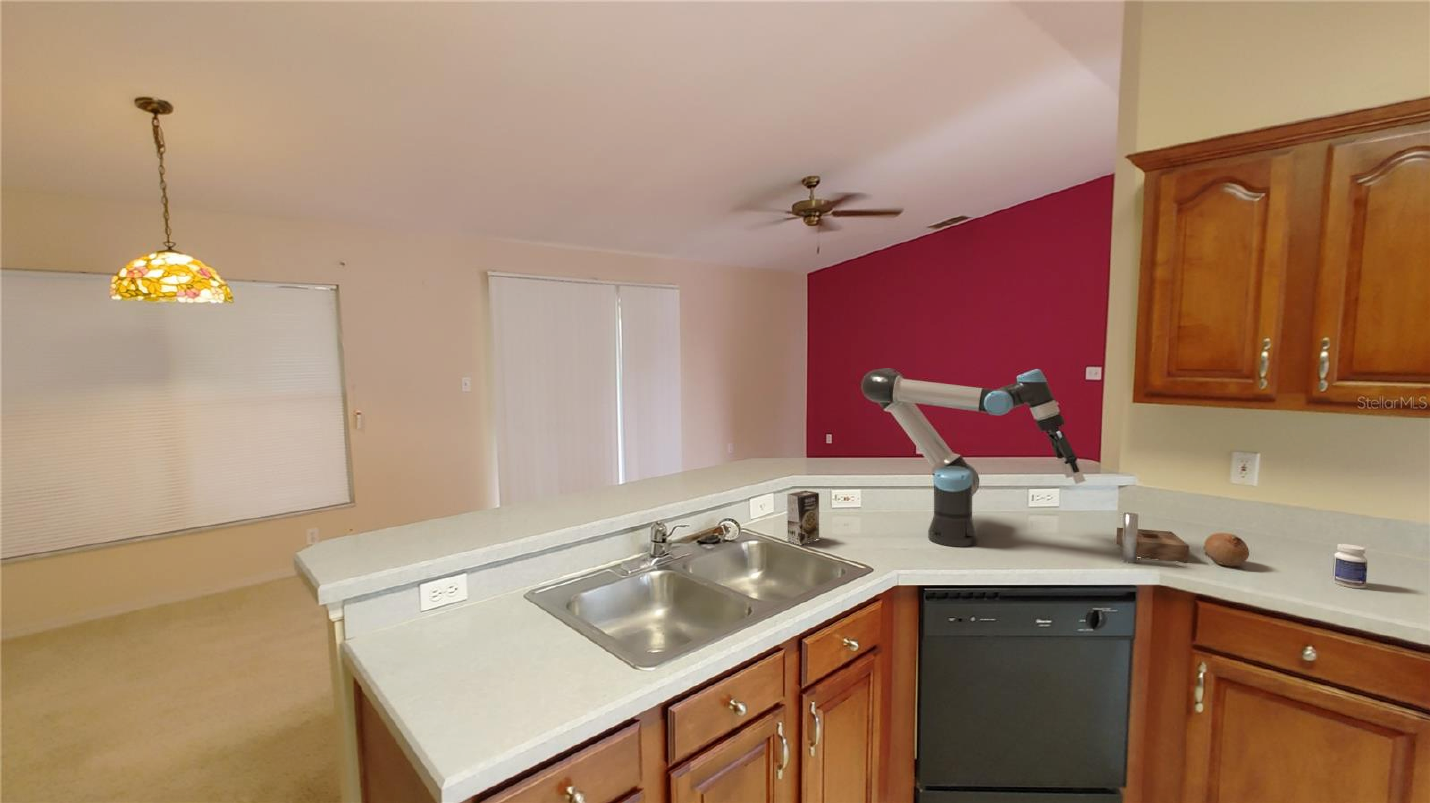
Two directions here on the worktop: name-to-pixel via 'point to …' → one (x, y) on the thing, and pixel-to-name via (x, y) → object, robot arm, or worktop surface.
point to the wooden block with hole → (1158, 545)
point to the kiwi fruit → (1226, 549)
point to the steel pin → (1130, 537)
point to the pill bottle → (1350, 566)
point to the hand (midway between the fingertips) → (1075, 479)
